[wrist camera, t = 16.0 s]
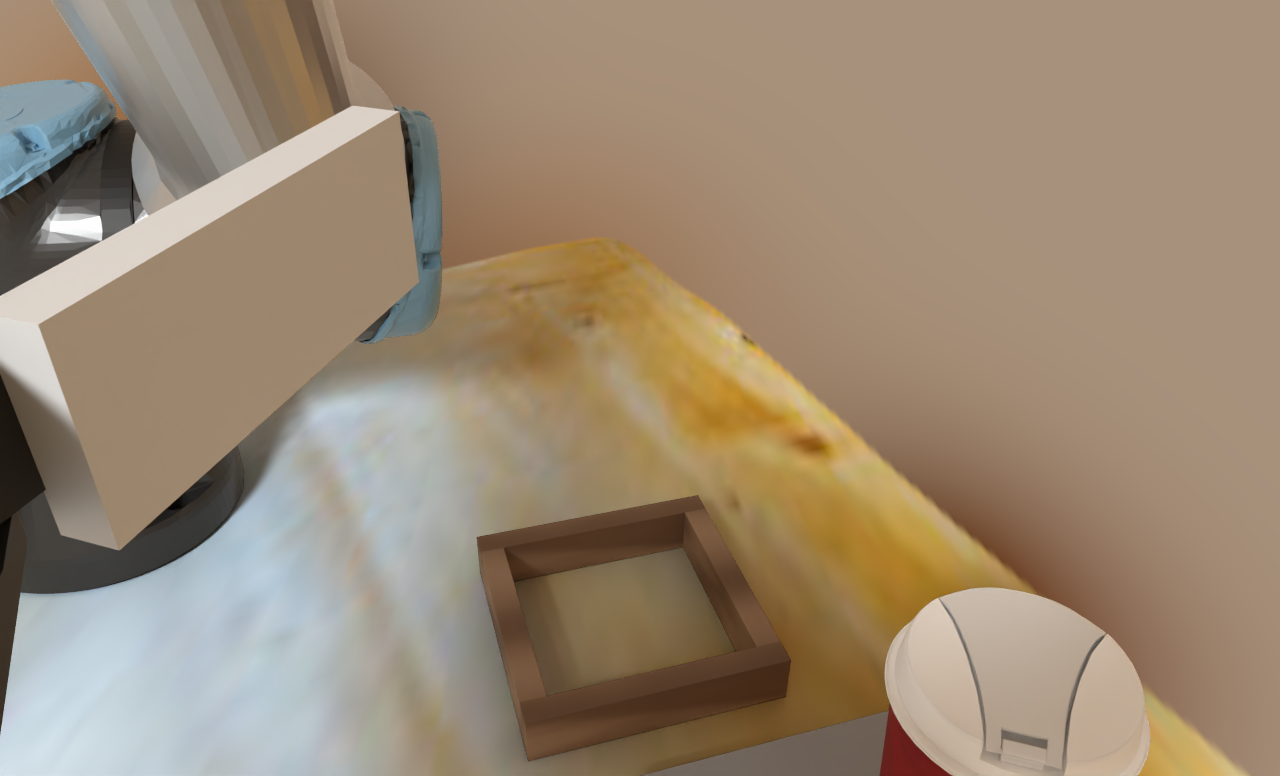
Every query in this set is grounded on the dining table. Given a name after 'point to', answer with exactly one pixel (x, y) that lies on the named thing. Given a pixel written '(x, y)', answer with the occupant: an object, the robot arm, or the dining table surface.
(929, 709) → the paper cup
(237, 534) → the dining table surface
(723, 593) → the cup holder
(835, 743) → the slate tile
